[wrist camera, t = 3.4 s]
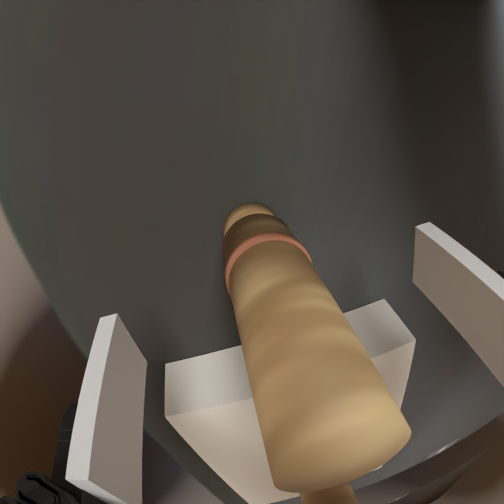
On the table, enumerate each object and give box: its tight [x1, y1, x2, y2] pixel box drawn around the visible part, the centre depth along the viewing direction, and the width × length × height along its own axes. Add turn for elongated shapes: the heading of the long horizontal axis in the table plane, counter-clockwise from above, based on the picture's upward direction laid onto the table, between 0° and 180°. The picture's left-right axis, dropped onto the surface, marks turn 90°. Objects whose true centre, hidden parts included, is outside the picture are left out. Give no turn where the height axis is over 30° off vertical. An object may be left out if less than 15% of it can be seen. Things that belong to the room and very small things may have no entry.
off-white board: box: [165, 299, 416, 504], centre depth 25 cm, size 16×24×4 cm, turn 13°
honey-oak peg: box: [222, 203, 411, 493], centre depth 12 cm, size 4×4×13 cm
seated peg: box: [299, 482, 358, 504], centre depth 19 cm, size 4×4×13 cm
